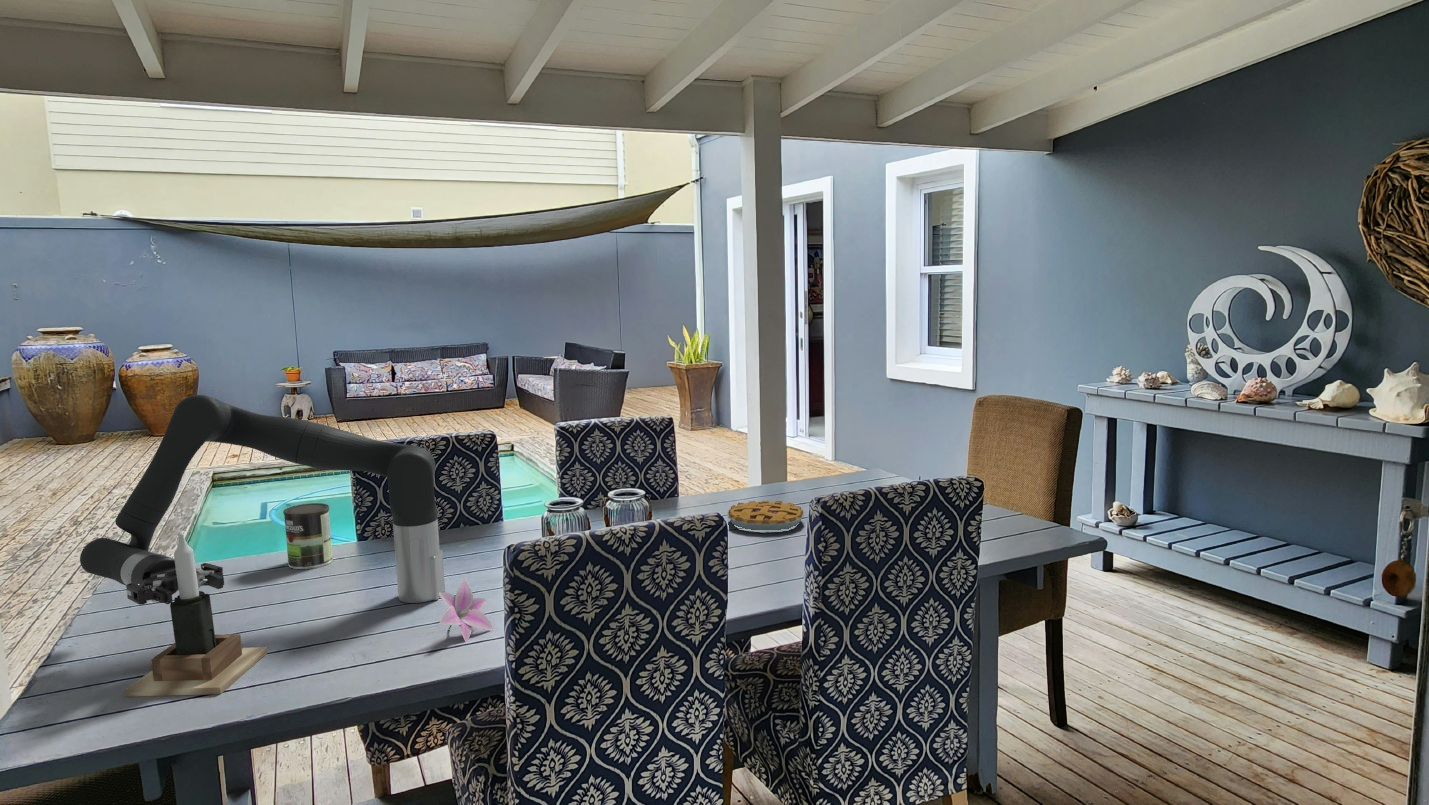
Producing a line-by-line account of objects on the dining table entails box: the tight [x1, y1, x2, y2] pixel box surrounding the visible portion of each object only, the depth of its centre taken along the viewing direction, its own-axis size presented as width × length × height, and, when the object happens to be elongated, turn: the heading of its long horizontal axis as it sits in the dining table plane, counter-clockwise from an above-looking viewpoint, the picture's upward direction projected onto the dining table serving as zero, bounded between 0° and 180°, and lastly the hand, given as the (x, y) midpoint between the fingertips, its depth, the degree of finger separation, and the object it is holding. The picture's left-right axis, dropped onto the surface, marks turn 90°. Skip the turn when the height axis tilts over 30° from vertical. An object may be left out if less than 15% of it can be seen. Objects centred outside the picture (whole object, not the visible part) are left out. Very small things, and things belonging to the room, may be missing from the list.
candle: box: [169, 532, 216, 655], centre depth 151 cm, size 5×5×25 cm
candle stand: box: [124, 633, 268, 698], centre depth 153 cm, size 16×16×5 cm
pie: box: [726, 500, 805, 530], centre depth 240 cm, size 22×22×5 cm
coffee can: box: [283, 502, 334, 570], centre depth 212 cm, size 10×10×14 cm
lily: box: [439, 577, 494, 642], centre depth 169 cm, size 12×12×10 cm
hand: (196, 590), depth 150 cm, fingers open, 8 cm apart
